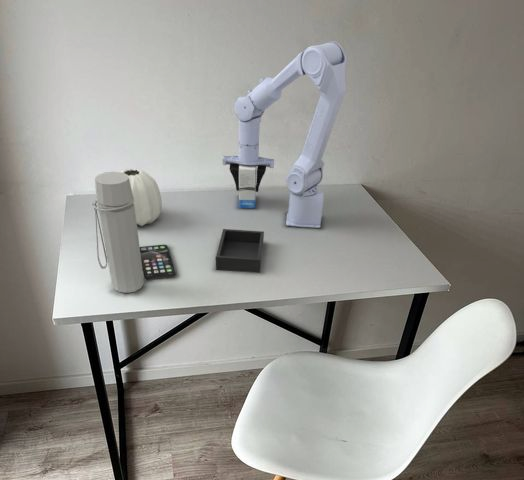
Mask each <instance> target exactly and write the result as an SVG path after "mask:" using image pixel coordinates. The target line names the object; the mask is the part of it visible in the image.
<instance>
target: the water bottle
mask: <svg viewBox="0 0 524 480" xmlns="http://www.w3.org/2000/svg"><path fill="white" fill-rule="evenodd" d="M94 185H95V199H96V200H95V201H92V204H91V205H92V207H93V209H94V214H95V216H94V217H95V233H96V253H97V255H96V256H97V261H98V265H99V266H100V268H101V269H103V270H104V269H106V268H107V267H108V269H109V270H108V271H109V276H110V281H111V286H112V289H114V290H115V291H117V292H119V293H122V294H123V293H125V294H129V293H135V292H137V291H139V290H141V289H142V287H143V286H144V283H145V280H144V279H145V278H144V275H143V270H142V262H141V254H140V247H141V246H140V240H139V239H140V238H139V232H138V225H137V222H136V214H135V206H134V203H133V202H134V197H133V194H132V189H131V185H130V180H129V177H128V175H127V174H124V173H122V172H121V171H107V172H103V173H99V174H98V175H96V176H94ZM98 212H99V213H98ZM99 218H100V219H99ZM100 223H101V224H100ZM98 229H99V233H100V238H101V243H102V248H103V253H104V259H105V263H106V264H105V265H102V263H101V260H100V255H99V254H100V252H99V238H98Z"/></svg>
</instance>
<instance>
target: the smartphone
mask: <svg viewBox="0 0 524 480" xmlns="http://www.w3.org/2000/svg"><path fill="white" fill-rule="evenodd" d="M140 254H141V262H142V270H143V278H144V279H145V280H154V279H163V278H164V279H165V278H171V277H175V276H176V274H177V272H176V269H175V266H174V262H173V259H172V256H171V252H170V250H169V245H167V244H156V245H145V246H140Z"/></svg>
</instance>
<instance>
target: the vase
mask: <svg viewBox="0 0 524 480" xmlns="http://www.w3.org/2000/svg"><path fill="white" fill-rule="evenodd" d="M120 172H122V173H124V174H127V175H128V177H129V180H130V185H131V189H132V194H133V197H134V202H133V203H134V206H135V214H136V222H137V226H140V227H143V226H144V225H147V224H152V223H154V221H155V220H156V219H157V218H158V217H160V215H161V211H162V208H163V200H162V194H161V192H160V188H159V184H158V183H157V181H156V179H155V178H153V177H152V176H151V175H150V174H149V173H147V172H145V171H143V170H141V169H139V168H126V169H124V170H122V171H120Z"/></svg>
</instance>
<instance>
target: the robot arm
mask: <svg viewBox="0 0 524 480" xmlns="http://www.w3.org/2000/svg"><path fill="white" fill-rule="evenodd" d="M347 61H348V58H347V55H346V53H345V51H344V49H343V47H342V46H341V44H340V43H339V42H336V41H327V42H325V43H323V44H322V43H321V44H318V45H311V46H308V47H307V48H306V49H304V51H301V52H300V53H298V54H297V56H296V57H294V58H293V60H291V61H290V62H289V63H288V64H286V66H285V67H283V69H282V70H281V71H280V72H279V73H278V74H277V75H275V77H268V76H267V77H263V78H260V79H259V80H258V83H259V84H258V85H256V86H255V87H254V88H252V89H249V90H248V91H247V94H246V96H240V97H238V98H237V100H236V101H235V103H234V108H233V109H234V114H235V116H236V118H237V119H238V140H237V141H238V142H237V143H238V144H237V145H238V149H237V150H238V151H237V154H238V155H223V156H222V166H227V165H229V168H228V169H229V172H230V174H231V176H232V178H233V181H234V184H235V189H236V192H239V164H242V165H256V193H259V190H260V185H261V182H262V180H263V177H264V176H265V174H266V171H267V168H270V169H274V166H275V158H267V157H263V156H259V153H260V127H261V124H260V123H261V122H262V116H263V115H264V113H265V111H266V110H267V109H268V108H270V107H271V106H272V105H273V104H274V103H276V102H277V101H278V100H279V99H280V98H281V97H282V91H283V90H284V89H285V88H286V87H288V86H290V84H292V83H293V82H294V81H296V80H298V78H300V77H301V76H307V77H308V79H309V80H310V82H312V83H313V84H314V86H315V87H316V89H318V91H319V94H320V96H319V99H318V102H317V104H316V109H315V111H314V114H313V118H312V121H311V123H310V127H309V129H308V130H309V131H308V133H307V136H306V139H305V142H304V146H303V148H302V152H301V154H300V156H299V158H297V160H296V161H295V163H294V164H293V166H292V169H291V170H290V171H289V172H288V173H287V175H286V178H285V185H286V187H287V189H288V190H289V199H288V201H289V202H288V212H286V221H285V222H286V223H285V226H287V227H296V228H297V227H299V228H314V229H321V223H322V219H323V207H324V199H325V198H324V196H325V194H324V193H325V192H324V191H320V190H318V185H319V184H320V183H321V182H322V180H323V178H324V166H325V162H324V160H323V156H324V154H325V150H326V148H327V145H328V142H329V140H330V137H331V135H332V131H333V130H334V129H333V128H334V126H335V123H336V120H337V118H338V114H339V112H340V109H341V106H342V104H343V101H344V97H345V95H346V91H347V86H346V65H347Z"/></svg>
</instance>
